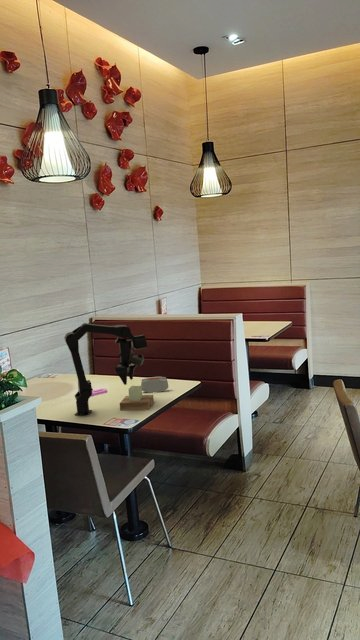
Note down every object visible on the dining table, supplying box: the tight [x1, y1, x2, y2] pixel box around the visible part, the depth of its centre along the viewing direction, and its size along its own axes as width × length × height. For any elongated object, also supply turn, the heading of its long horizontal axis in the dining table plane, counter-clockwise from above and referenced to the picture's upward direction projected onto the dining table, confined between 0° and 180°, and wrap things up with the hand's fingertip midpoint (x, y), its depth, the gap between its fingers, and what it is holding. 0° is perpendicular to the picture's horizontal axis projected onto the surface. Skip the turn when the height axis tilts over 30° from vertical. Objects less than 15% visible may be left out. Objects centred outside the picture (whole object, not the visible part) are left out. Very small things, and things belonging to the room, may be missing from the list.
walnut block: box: [119, 394, 155, 411], centre depth 251 cm, size 12×14×4 cm
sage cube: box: [127, 385, 143, 401], centre depth 250 cm, size 5×5×6 cm
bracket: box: [91, 385, 108, 397], centre depth 278 cm, size 13×6×7 cm, turn 122°
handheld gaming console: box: [140, 376, 169, 394], centre depth 272 cm, size 14×3×8 cm, turn 88°
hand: (128, 382), depth 251 cm, fingers open, 9 cm apart
